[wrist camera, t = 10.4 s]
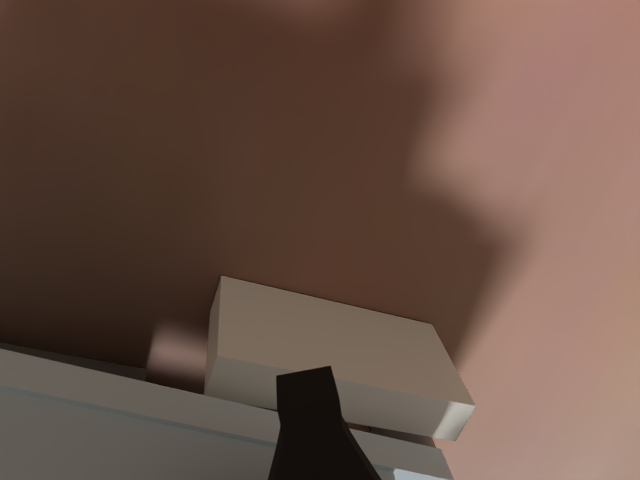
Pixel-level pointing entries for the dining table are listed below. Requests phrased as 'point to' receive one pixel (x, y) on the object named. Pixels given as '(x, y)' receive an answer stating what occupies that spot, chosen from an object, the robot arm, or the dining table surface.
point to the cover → (152, 431)
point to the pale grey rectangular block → (335, 360)
